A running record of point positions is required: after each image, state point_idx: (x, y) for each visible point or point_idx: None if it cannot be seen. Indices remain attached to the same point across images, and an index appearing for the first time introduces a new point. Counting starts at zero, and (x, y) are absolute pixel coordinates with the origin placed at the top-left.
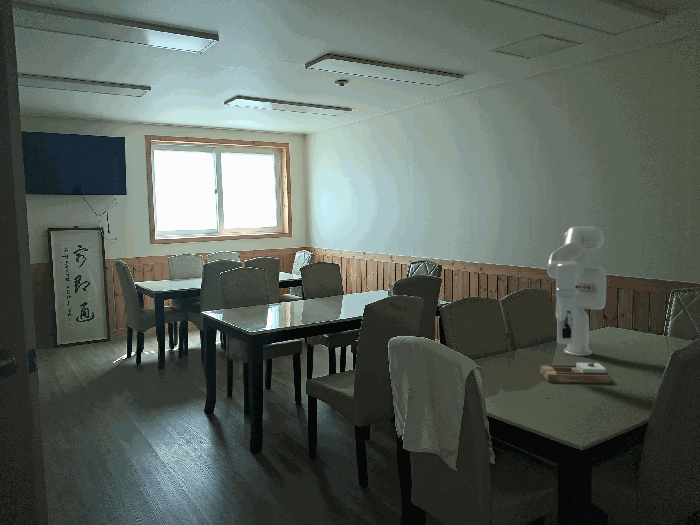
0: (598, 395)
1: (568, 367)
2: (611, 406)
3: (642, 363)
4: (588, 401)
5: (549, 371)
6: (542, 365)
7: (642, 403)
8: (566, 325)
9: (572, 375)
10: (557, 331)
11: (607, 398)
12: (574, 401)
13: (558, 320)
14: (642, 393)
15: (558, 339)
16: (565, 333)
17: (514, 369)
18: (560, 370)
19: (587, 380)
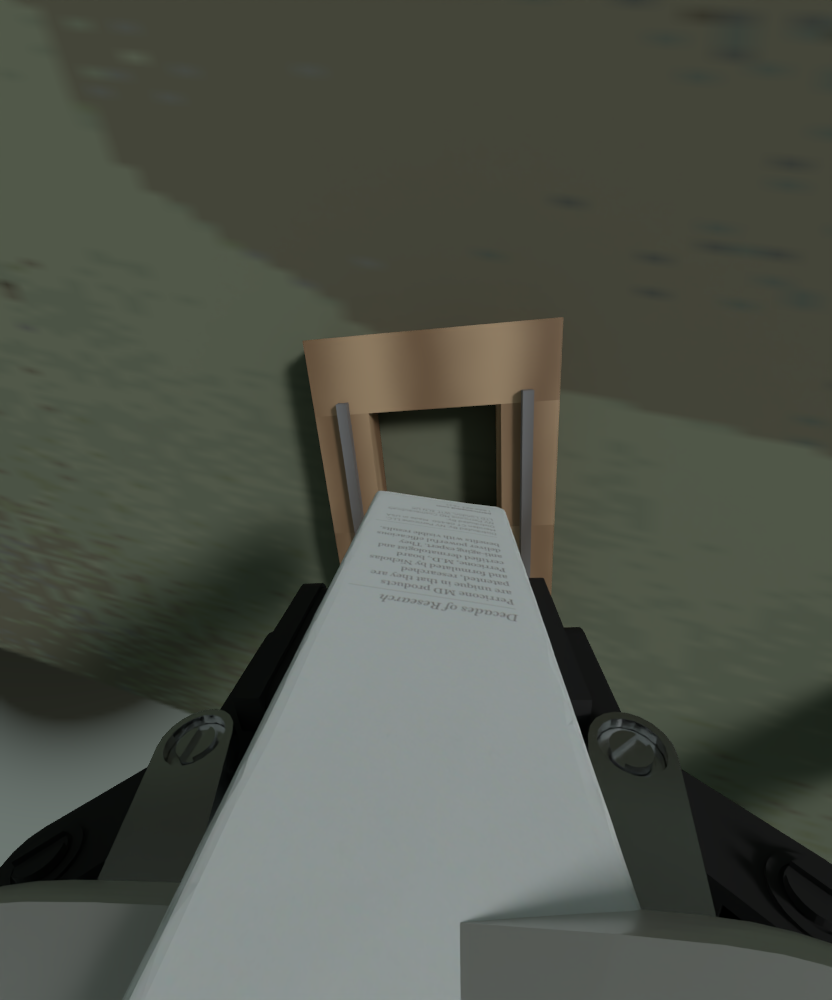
0: (165, 556)
1: (506, 512)
2: (38, 568)
3: None
4: (58, 493)
5: (390, 363)
6: (554, 333)
7: (129, 680)
8: (44, 832)
9: (329, 498)
10: (431, 574)
11: (137, 581)
12: (26, 428)
13: (201, 852)
14: None
15: (363, 518)
16: (251, 660)
17: (623, 85)
18: (498, 455)
19: None
